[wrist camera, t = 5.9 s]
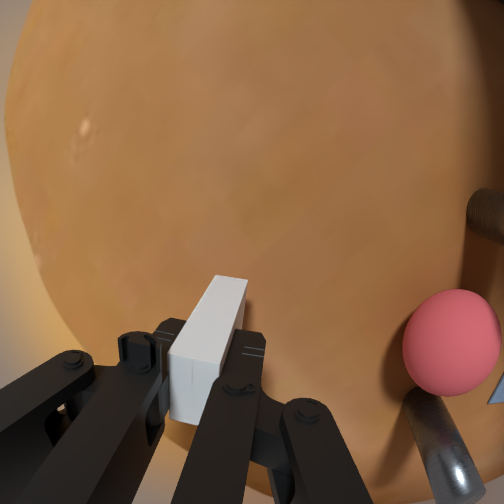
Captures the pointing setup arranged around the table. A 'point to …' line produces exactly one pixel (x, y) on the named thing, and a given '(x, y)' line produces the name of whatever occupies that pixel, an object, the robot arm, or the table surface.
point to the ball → (452, 342)
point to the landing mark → (498, 392)
